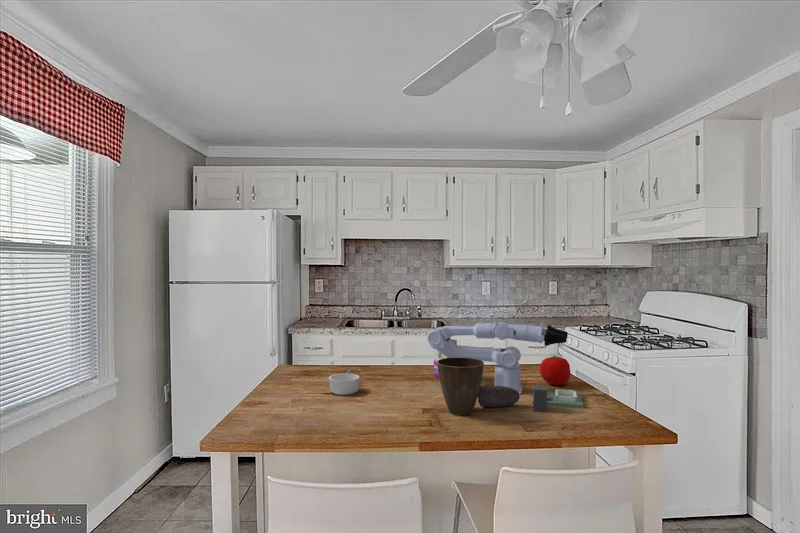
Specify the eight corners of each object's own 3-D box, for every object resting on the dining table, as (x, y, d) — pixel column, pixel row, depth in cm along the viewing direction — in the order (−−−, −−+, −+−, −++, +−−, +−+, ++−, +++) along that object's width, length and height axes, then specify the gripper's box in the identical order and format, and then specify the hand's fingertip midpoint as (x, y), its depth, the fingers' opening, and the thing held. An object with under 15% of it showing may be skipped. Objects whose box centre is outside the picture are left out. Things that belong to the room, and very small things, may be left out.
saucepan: (364, 382, 192) (364, 368, 192) (357, 396, 172) (357, 381, 172) (336, 382, 193) (335, 368, 193) (325, 396, 173) (325, 380, 173)
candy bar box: (457, 380, 194) (457, 339, 194) (446, 381, 192) (446, 340, 192) (443, 374, 204) (443, 335, 204) (433, 375, 202) (433, 336, 202)
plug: (533, 411, 154) (533, 389, 154) (533, 405, 160) (533, 384, 160) (546, 412, 153) (546, 390, 153) (546, 406, 159) (546, 385, 159)
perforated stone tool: (516, 403, 163) (516, 382, 163) (522, 407, 158) (522, 386, 158) (473, 404, 162) (473, 384, 162) (477, 409, 156) (477, 388, 156)
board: (532, 404, 162) (532, 396, 162) (532, 393, 175) (532, 386, 175) (583, 408, 157) (583, 400, 157) (579, 396, 171) (579, 389, 170)
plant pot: (429, 407, 159) (429, 359, 158) (469, 402, 164) (469, 355, 164) (450, 421, 145) (449, 368, 144) (493, 415, 150) (492, 364, 150)
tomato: (575, 388, 181) (575, 358, 181) (544, 388, 181) (544, 358, 181) (564, 380, 193) (564, 352, 193) (536, 380, 193) (535, 352, 193)
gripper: (525, 325, 169) (566, 329, 164) (530, 319, 182) (568, 322, 177) (524, 345, 169) (565, 350, 164) (529, 337, 183) (567, 341, 178)
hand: (567, 337), depth 171 cm, fingers open, 7 cm apart
